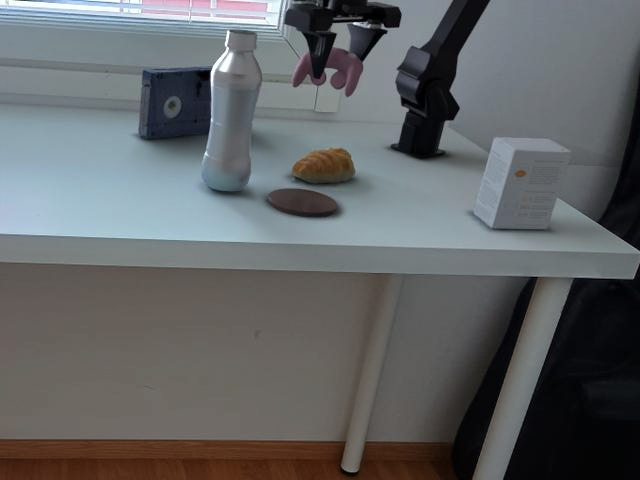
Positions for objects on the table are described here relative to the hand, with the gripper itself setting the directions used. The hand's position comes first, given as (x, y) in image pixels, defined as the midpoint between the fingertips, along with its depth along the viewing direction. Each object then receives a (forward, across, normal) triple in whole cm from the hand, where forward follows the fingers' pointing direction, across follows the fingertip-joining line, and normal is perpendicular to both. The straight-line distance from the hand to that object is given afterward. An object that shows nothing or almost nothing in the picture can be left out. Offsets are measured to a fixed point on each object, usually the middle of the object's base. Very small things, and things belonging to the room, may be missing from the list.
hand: (333, 77), depth 127 cm
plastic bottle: (+12, +26, +8) cm, 29 cm away
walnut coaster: (+11, +20, +17) cm, 28 cm away
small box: (+12, -3, +33) cm, 35 cm away
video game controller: (+2, 0, -1) cm, 2 cm away
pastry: (+12, +9, +9) cm, 17 cm away
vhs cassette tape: (+12, +14, -16) cm, 24 cm away
